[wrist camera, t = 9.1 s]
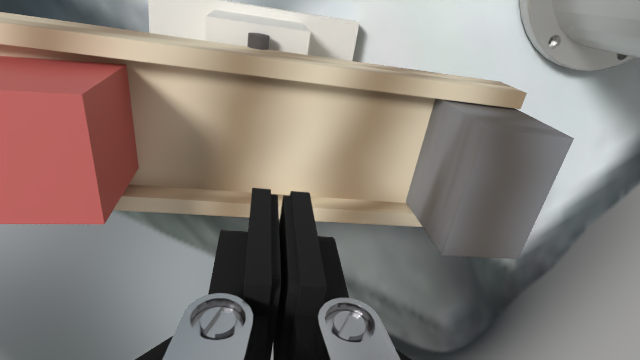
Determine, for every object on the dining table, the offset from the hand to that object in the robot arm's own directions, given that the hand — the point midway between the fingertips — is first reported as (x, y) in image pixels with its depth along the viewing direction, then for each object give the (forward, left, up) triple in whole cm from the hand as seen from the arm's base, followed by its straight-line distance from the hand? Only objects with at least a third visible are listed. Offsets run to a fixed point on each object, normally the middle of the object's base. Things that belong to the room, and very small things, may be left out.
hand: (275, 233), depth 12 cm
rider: (+9, 0, -9) cm, 12 cm away
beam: (+1, 0, -10) cm, 10 cm away
